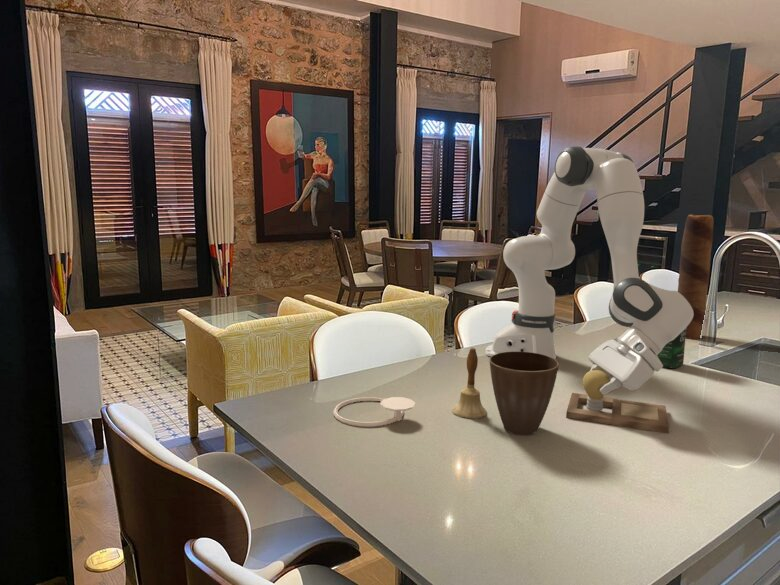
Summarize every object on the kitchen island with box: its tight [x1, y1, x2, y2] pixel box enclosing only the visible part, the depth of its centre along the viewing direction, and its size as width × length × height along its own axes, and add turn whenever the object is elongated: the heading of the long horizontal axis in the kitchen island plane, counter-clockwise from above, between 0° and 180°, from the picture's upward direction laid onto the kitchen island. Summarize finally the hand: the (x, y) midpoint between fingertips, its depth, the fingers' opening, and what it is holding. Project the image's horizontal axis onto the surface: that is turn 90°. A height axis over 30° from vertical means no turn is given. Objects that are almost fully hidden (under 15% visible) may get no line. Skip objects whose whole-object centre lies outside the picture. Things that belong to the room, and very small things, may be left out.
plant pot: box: [488, 352, 560, 436], centre depth 129 cm, size 15×15×16 cm
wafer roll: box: [677, 214, 714, 340], centre depth 211 cm, size 10×11×45 cm
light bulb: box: [582, 370, 611, 412], centre depth 140 cm, size 6×6×10 cm
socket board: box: [565, 392, 670, 434], centre depth 139 cm, size 22×14×2 cm, turn 68°
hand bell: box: [451, 347, 488, 419], centre depth 138 cm, size 8×8×16 cm
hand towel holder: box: [333, 396, 416, 428], centre depth 137 cm, size 17×4×21 cm
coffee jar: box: [657, 327, 687, 369], centre depth 178 cm, size 10×8×19 cm
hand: (593, 387), depth 140 cm, fingers closed on light bulb, 6 cm apart
